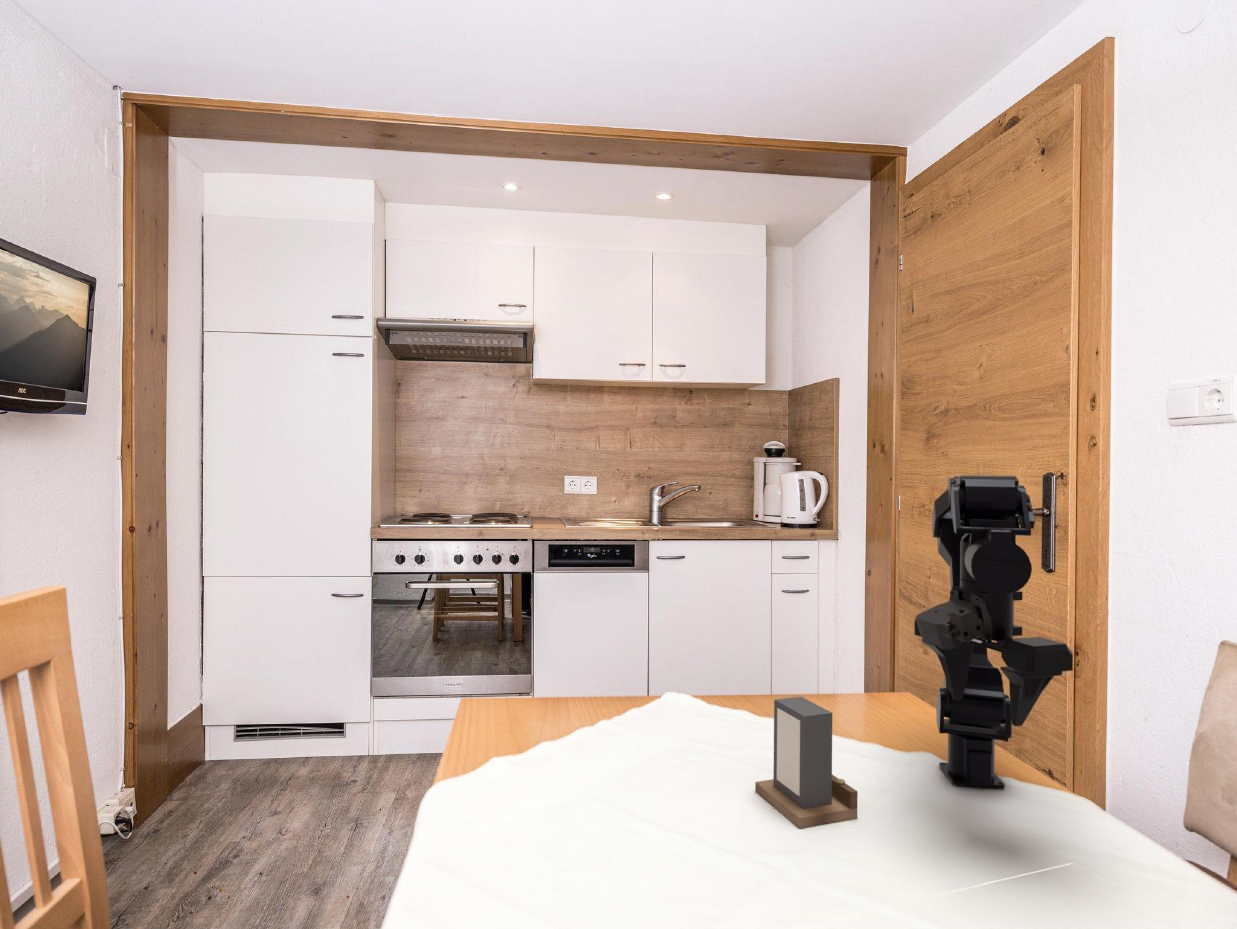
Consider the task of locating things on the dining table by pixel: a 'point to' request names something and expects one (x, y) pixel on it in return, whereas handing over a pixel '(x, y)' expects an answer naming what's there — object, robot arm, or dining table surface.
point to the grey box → (803, 752)
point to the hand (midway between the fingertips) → (985, 712)
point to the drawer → (802, 818)
